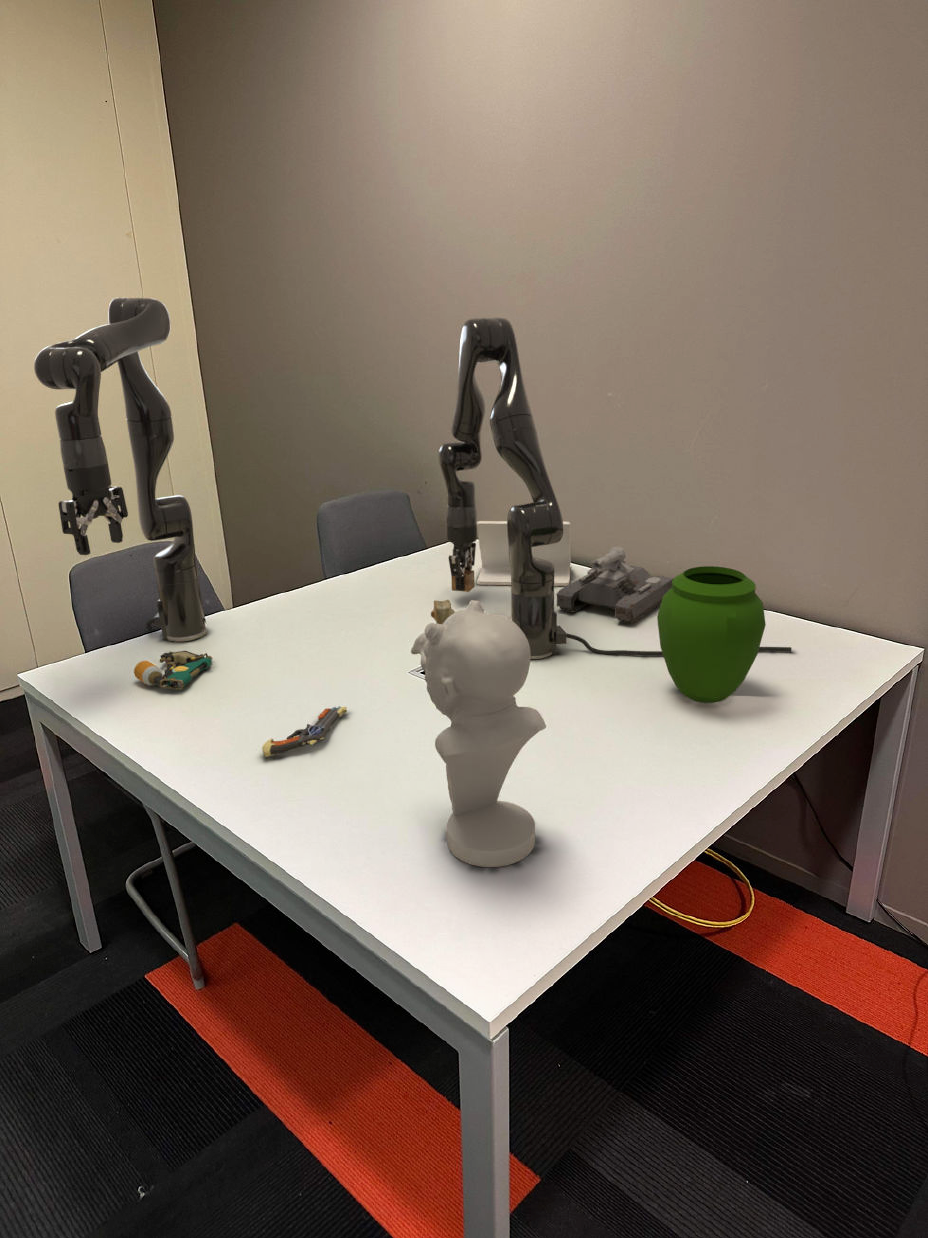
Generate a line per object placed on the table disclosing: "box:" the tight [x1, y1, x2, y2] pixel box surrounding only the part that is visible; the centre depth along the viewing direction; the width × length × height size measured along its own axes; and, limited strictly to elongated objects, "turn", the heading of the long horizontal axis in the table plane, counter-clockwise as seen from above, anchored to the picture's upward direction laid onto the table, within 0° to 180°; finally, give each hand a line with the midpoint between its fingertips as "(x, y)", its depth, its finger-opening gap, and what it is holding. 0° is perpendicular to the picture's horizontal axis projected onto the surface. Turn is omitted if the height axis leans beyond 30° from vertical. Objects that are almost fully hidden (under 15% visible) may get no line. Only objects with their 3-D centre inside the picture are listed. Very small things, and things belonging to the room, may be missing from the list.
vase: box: [656, 565, 767, 704], centre depth 161 cm, size 20×20×24 cm
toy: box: [556, 546, 675, 624], centre depth 212 cm, size 25×20×15 cm
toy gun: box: [261, 705, 348, 758], centre depth 154 cm, size 3×19×10 cm
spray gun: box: [133, 650, 213, 690], centre depth 180 cm, size 4×17×15 cm
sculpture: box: [430, 599, 456, 624], centre depth 177 cm, size 6×7×15 cm
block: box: [451, 569, 476, 593], centre depth 218 cm, size 4×5×4 cm
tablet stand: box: [476, 520, 572, 587], centre depth 236 cm, size 18×25×17 cm
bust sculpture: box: [410, 599, 547, 868], centre depth 121 cm, size 16×24×35 cm
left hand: (101, 548), depth 161 cm, fingers open, 8 cm apart
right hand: (463, 586), depth 219 cm, fingers closed on block, 4 cm apart
